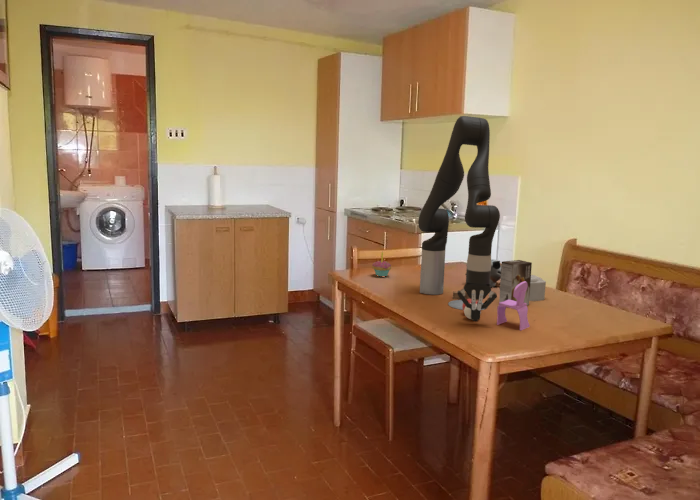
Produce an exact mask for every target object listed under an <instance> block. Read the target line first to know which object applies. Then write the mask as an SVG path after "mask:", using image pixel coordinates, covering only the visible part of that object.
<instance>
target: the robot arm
mask: <svg viewBox="0 0 700 500" xmlns="http://www.w3.org/2000/svg"><path fill="white" fill-rule="evenodd" d="M490 131H491V130H490V122H488V120H487V118H484V117H476V116H470V115H461V116H459V117H458V118H457V119H456V121H455V123H454V124H453V128H452V131H451V134H450V138H449V142H448V145H447V148H446V152H445V155H444V158H443V159H442V162H441V165H440V167H439V170H438V172H437V174H436V177H435V180H434V183H433V185H432V188H431V190H430V193H429V195H428V197H427V199H426V201H425V202H424V204H423V207H422V209H421V211H420V213H419V216H418V219H417V220H418V222H417V223H418V228H419V230H420V231H421V232H423V233H434V234H433V235H432V237H430V238H428V239H426V240H424V241H422V243H421V258H420V259H421V261H420V280H419V294H425V295H442V294H443V293H444V287H445V286H444V283H445V281H444V280H445V264H446V246H447V242H448V233H449V227H450V217H449V213H448V211H447V209H445V208H441V206H442V205H444V204H445V203H447V202H448V201H449V200H450V199H451V198H452V197H454V196H455V195H456V193H458V192H459V190H460V189H461V188H460V187H461V186H462V183H463V180H464V178H465V169H464V166H463V163H462V160H461V156H460V150H461V148H462V146H463V145H465V146H474V147H475V146H476V148H477V151H476V152H477V153H476V156H475V158H474V160H473V162H472V164H471V166H470V167H469V168H468V171H467V175H466V186H467V193H468V195H467V196H468V197H467V204H466V209H465V215H464V221H465V224H466V225H467V226H468V227H470V228H474V229H475V228H477V229H478V228H480V229H483V231H482V232H481V233H478V234H473V235H471V236H470V237H469V238H468V239H469V241H468V255H467V259H466V270H465V271H466V272H465V274H466V275H465V284H463V288H462V289H460V290H457V291H456V292H457V294H458V296H459V297H460V299H459V300H462V301H463V303H464V304H465V306H466V307H467V308H470V309H471V319H470V320H472V319H473V320H472V321H473V322H478V321H480V319H481V314H480V311H481V312H482V311H483V310H482V309H484V310H486V309H488V307H489V306H491V304H492V303H493V302H494V301H495V300H496V299H497V298H498V295H497V293H496V292H494V291H493V290H492V287H490V275H491V260H492V247H493V241H494V236H495V233H496V230H497V228H498V225H499V223H500V219H501V214H500V210H499V208H498V207H497V206H495V205H493V204H492V205H491V204H490V205H489V204H485V205H484V204H482V205H481V204H480V205H479V203H483V202H487V201H488V200H490V198H491V196H492V191H491V183H490V173H489V161H490V159H489V158H490V139H491V138H490V137H491V134H490V133H491V132H490ZM465 292H466V293H467V295H468V296H469V297H470V298H471V304H470V303H469V302H468V301H467V299H466V298H465ZM487 296H488V298H487V299H486V300H485V301H483V300H484V299H485V298H486V297H487ZM476 299H477V300H476ZM476 301H477V307H476ZM482 303H483V304H482Z"/></svg>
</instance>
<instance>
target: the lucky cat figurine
mask: <svg viewBox="0 0 700 500" xmlns="http://www.w3.org/2000/svg"><path fill="white" fill-rule="evenodd" d="M501 264H502V261H500V260H498V259H491V275H490V287H491V288H495V286H496V284H497V283H498V281H500V280H501ZM465 276H466V273H465Z"/></svg>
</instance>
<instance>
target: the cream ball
mask: <svg viewBox="0 0 700 500" xmlns="http://www.w3.org/2000/svg"><path fill="white" fill-rule="evenodd" d="M470 304H471V303H470ZM476 307H477V304H476ZM463 313H464V316H465V317H466V318H467V319H468V320H472V321H473V319H471V309H470V308H467V307H465V309H464V311H463ZM480 315H482V310H481V311H480Z"/></svg>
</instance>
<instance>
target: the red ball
mask: <svg viewBox="0 0 700 500" xmlns="http://www.w3.org/2000/svg"><path fill="white" fill-rule="evenodd" d="M467 301H468V302H469V303H471V299H467ZM476 304H477V300H476ZM465 307H466V306H465V304H464V303H463V305H462V308H463V310H462V311H463V312H464V309H465Z"/></svg>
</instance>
